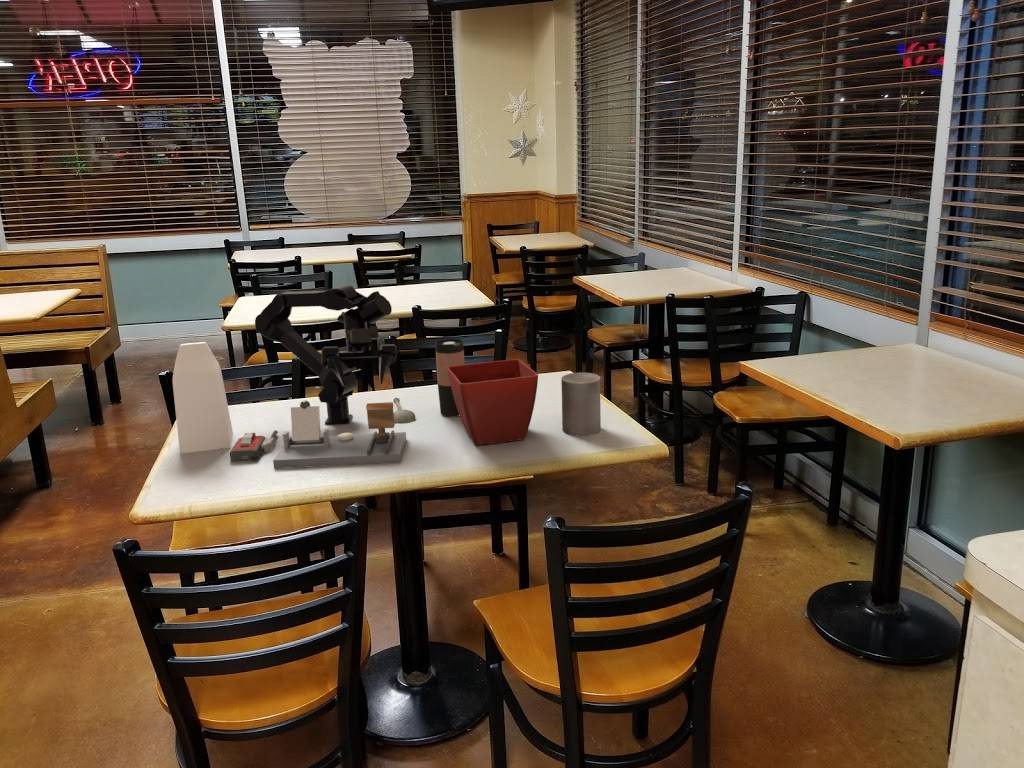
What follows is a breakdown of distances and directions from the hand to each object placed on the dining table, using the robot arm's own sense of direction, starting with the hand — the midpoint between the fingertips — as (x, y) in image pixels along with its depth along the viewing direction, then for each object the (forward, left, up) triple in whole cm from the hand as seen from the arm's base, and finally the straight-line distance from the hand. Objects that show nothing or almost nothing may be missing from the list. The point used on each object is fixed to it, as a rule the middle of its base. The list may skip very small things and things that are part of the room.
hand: (362, 384), depth 208 cm
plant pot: (+4, +32, -14) cm, 35 cm away
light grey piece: (+11, -13, -10) cm, 20 cm away
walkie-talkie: (+5, -27, -14) cm, 31 cm away
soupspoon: (-21, +6, -14) cm, 26 cm away
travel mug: (-17, +21, -14) cm, 31 cm away
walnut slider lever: (+10, +5, -11) cm, 16 cm away
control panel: (+12, -4, -14) cm, 19 cm away
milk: (-1, -41, -14) cm, 43 cm away
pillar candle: (+3, +54, -14) cm, 56 cm away
